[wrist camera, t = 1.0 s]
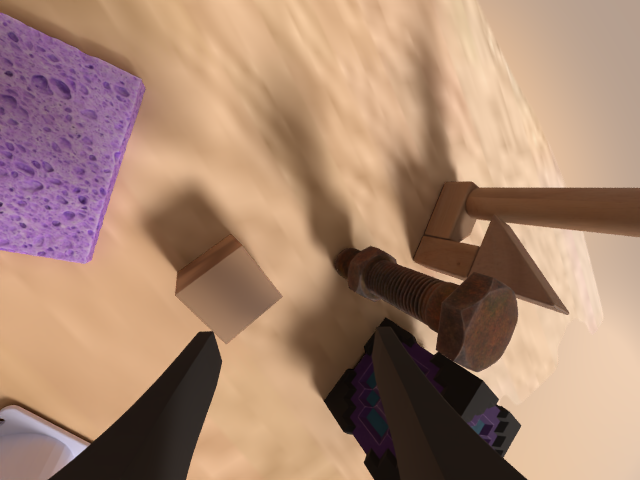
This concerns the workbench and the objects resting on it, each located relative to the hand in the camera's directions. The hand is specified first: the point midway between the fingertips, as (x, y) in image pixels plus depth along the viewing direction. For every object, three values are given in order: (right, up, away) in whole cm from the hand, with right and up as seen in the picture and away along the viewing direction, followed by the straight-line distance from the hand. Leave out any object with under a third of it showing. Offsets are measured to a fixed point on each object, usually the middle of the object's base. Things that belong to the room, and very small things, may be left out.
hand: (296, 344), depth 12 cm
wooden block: (+16, +7, +21) cm, 27 cm away
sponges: (-16, +10, +5) cm, 19 cm away
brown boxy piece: (-7, +2, +10) cm, 13 cm away
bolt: (+4, +2, +16) cm, 17 cm away
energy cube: (+9, -13, +22) cm, 27 cm away
